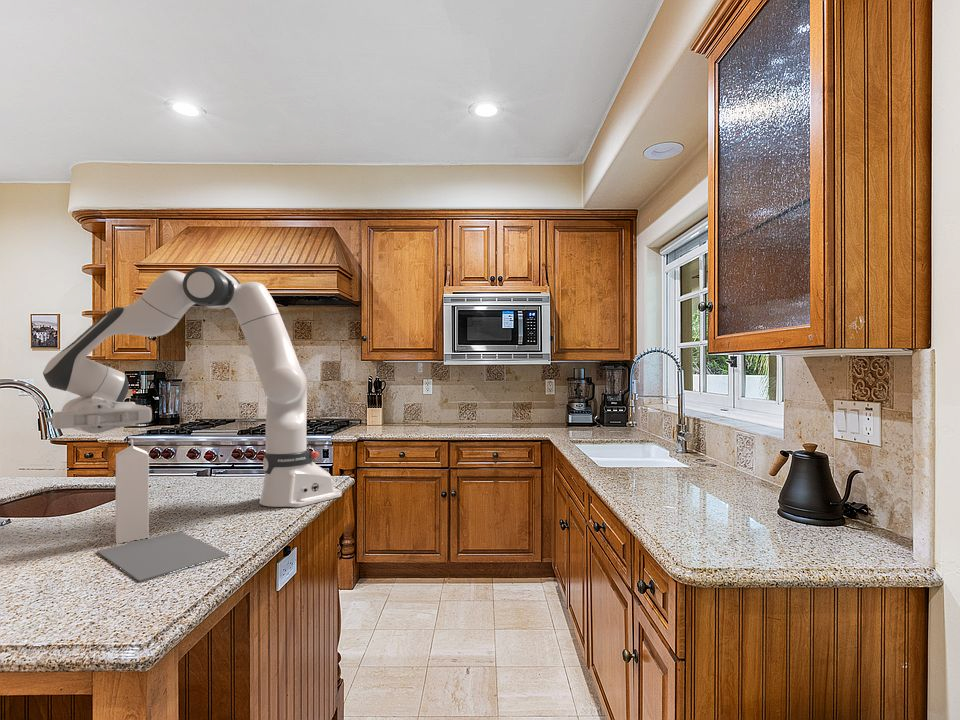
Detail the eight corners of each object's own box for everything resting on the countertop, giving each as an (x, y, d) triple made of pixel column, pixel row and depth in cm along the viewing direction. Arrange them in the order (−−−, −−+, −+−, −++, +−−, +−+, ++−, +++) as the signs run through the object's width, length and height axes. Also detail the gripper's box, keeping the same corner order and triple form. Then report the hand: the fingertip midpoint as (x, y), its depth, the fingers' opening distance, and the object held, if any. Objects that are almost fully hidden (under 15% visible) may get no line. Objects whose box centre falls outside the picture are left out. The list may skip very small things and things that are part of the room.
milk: (116, 544, 112) (115, 443, 112) (115, 537, 117) (114, 439, 117) (149, 538, 116) (148, 440, 116) (147, 531, 121) (146, 437, 121)
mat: (96, 552, 107) (96, 550, 107) (179, 532, 119) (179, 531, 119) (139, 582, 92) (139, 580, 92) (229, 556, 105) (229, 554, 105)
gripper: (43, 406, 124) (59, 409, 116) (139, 401, 141) (160, 403, 132) (43, 432, 124) (59, 437, 116) (139, 424, 140) (160, 428, 132)
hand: (113, 419), depth 124 cm, fingers open, 3 cm apart
